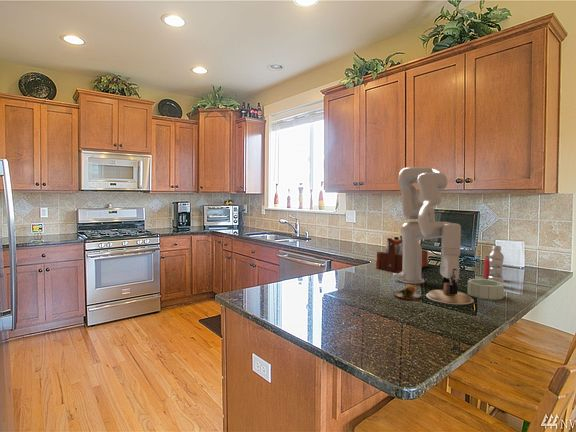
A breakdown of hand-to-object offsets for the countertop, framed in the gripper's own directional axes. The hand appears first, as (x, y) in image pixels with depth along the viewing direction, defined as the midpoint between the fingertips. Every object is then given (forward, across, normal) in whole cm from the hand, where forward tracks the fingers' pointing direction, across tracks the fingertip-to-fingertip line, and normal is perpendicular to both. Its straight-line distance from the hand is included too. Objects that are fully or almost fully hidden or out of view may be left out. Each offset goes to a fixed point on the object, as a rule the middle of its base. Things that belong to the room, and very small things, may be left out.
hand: (449, 291), depth 151 cm
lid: (+3, 0, 0) cm, 3 cm away
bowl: (+3, -6, +18) cm, 19 cm away
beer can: (+3, -40, +37) cm, 55 cm away
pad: (+3, 0, 0) cm, 3 cm away
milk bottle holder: (+4, -67, -3) cm, 67 cm away
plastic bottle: (+3, -25, +32) cm, 41 cm away
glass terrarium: (+4, 0, -18) cm, 18 cm away
